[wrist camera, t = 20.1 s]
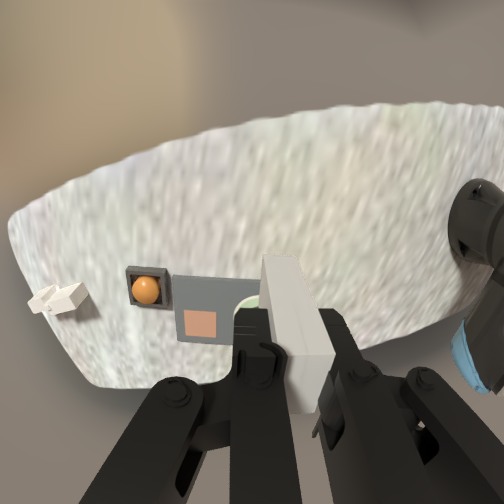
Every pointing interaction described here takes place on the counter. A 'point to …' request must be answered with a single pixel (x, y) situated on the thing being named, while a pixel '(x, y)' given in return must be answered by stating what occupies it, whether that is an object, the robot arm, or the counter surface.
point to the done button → (146, 289)
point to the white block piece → (58, 299)
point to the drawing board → (210, 306)
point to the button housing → (149, 272)
